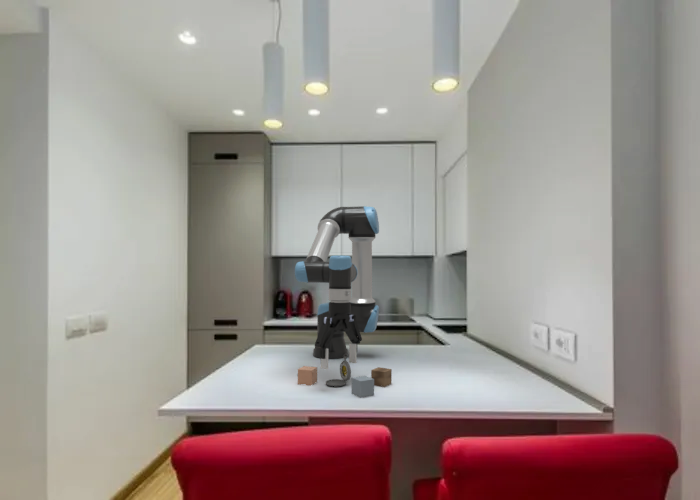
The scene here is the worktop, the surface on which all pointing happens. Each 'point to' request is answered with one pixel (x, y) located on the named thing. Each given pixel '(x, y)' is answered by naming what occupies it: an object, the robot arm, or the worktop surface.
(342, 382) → the pocket watch
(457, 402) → the worktop surface
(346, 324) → the robot arm
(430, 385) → the worktop surface
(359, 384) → the slate cube
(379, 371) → the walnut cube
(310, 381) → the terracotta cube
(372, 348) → the worktop surface
